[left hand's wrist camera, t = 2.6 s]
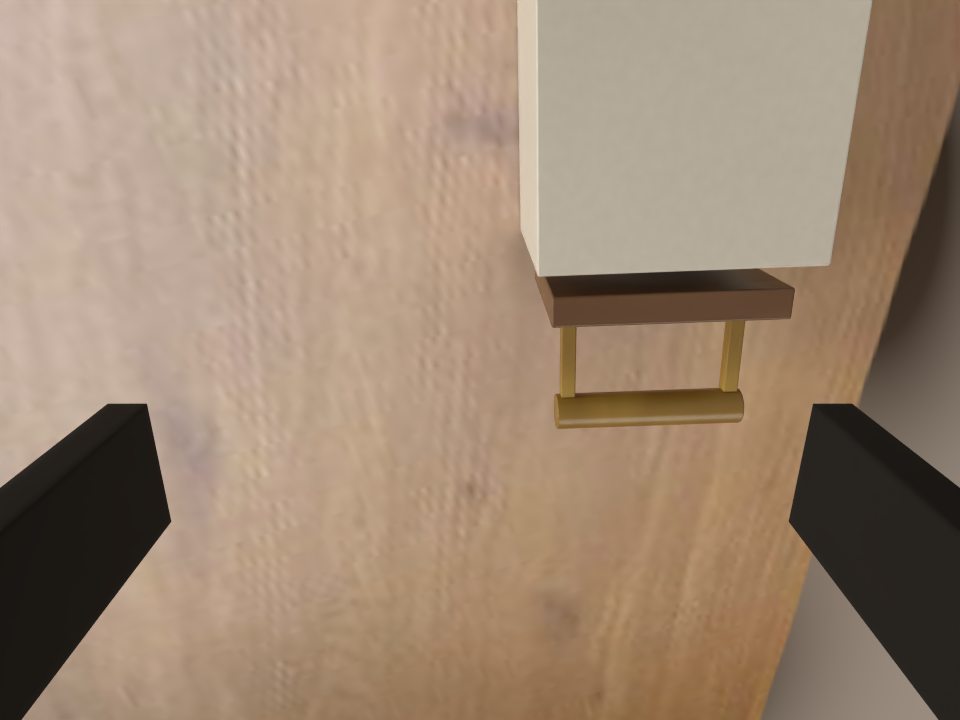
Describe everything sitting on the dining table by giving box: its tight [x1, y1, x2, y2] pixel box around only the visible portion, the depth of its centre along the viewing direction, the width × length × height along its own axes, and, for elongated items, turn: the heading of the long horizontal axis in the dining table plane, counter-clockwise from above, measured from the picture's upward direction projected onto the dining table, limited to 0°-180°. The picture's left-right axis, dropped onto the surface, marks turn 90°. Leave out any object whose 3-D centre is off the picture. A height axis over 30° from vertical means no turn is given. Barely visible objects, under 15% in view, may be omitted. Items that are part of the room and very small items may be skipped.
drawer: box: [535, 268, 795, 429], centre depth 25 cm, size 22×9×7 cm, turn 2°
